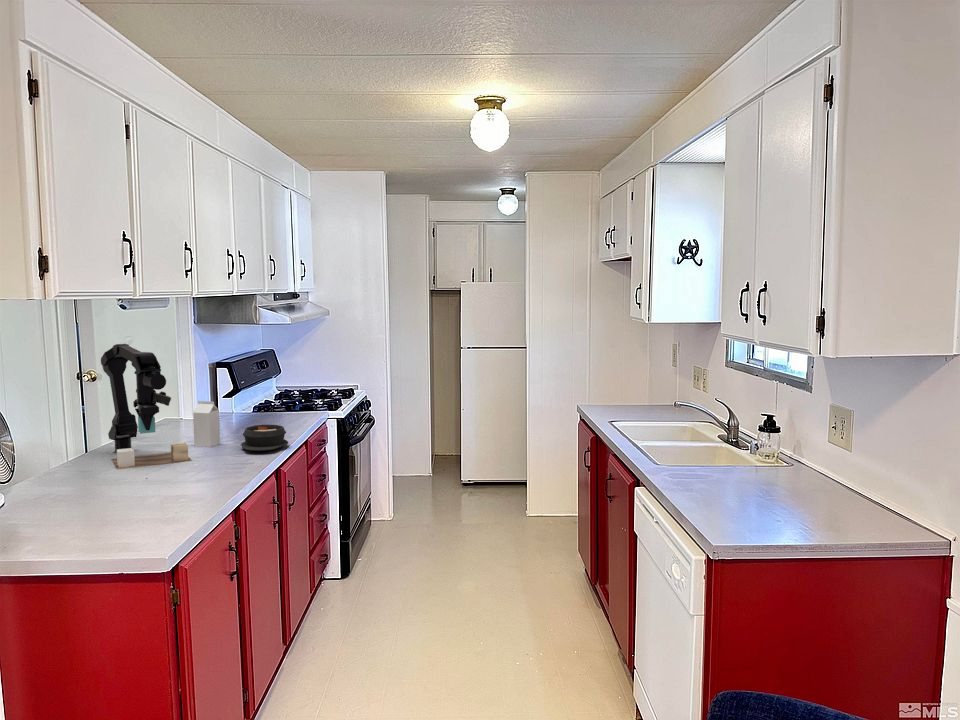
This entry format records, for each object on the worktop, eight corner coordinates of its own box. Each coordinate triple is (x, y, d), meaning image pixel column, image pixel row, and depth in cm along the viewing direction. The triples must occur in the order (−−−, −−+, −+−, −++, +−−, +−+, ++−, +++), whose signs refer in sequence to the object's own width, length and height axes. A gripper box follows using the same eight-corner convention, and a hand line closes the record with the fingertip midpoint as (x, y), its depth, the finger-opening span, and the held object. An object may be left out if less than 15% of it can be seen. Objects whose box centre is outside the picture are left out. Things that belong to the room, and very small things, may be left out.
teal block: (138, 431, 264) (137, 416, 263) (153, 429, 267) (152, 415, 266) (140, 433, 260) (139, 418, 259) (155, 432, 263) (154, 417, 262)
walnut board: (111, 462, 264) (110, 458, 264) (183, 454, 278) (182, 451, 278) (116, 472, 249) (116, 469, 249) (192, 464, 263) (192, 460, 262)
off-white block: (117, 464, 256) (116, 449, 255) (132, 462, 258) (132, 447, 258) (119, 467, 252) (118, 452, 251) (134, 465, 254) (134, 450, 254)
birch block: (171, 458, 265) (170, 444, 265) (185, 457, 268) (185, 442, 268) (173, 461, 261) (173, 446, 261) (188, 459, 264) (187, 445, 263)
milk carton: (210, 450, 285) (208, 403, 283) (194, 449, 286) (192, 402, 284) (220, 446, 292) (218, 400, 290) (204, 445, 293) (203, 399, 291)
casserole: (247, 441, 301) (247, 422, 301) (292, 441, 304) (292, 421, 303) (234, 455, 277) (233, 434, 276) (283, 454, 279) (283, 433, 278)
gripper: (173, 388, 258) (174, 431, 260) (164, 382, 274) (165, 422, 275) (139, 390, 252) (141, 434, 254) (132, 384, 268) (134, 425, 269)
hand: (146, 429), depth 263 cm, fingers closed on teal block, 5 cm apart
